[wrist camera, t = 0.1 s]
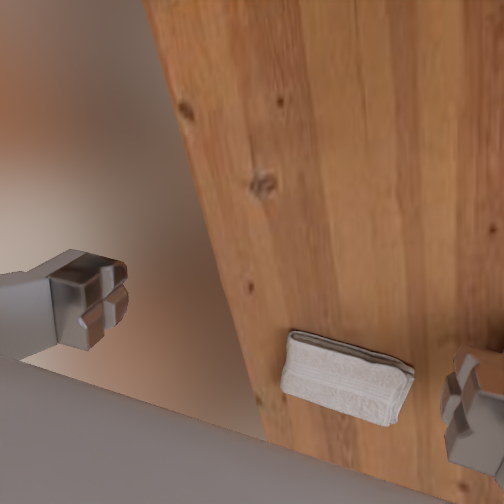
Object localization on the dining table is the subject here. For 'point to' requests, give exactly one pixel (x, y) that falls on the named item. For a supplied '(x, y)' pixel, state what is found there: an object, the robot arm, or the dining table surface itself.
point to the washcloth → (345, 378)
